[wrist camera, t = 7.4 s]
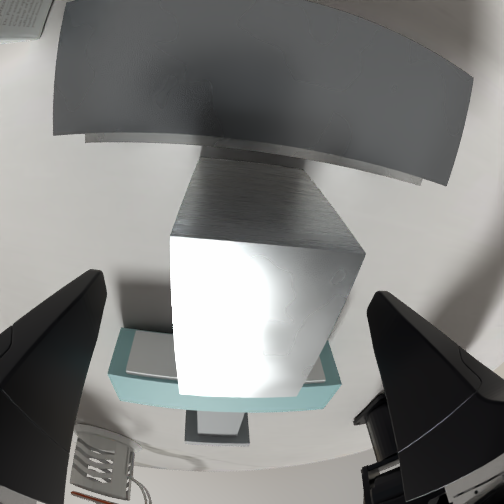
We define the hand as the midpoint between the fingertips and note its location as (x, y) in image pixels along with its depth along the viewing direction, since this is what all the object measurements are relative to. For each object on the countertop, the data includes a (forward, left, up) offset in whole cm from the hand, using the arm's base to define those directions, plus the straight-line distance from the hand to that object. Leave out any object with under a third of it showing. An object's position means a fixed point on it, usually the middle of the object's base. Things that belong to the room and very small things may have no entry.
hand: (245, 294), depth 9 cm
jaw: (-12, 0, -4) cm, 12 cm away
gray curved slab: (+6, 0, -4) cm, 7 cm away
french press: (-32, +13, -4) cm, 34 cm away
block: (0, 0, -4) cm, 4 cm away
